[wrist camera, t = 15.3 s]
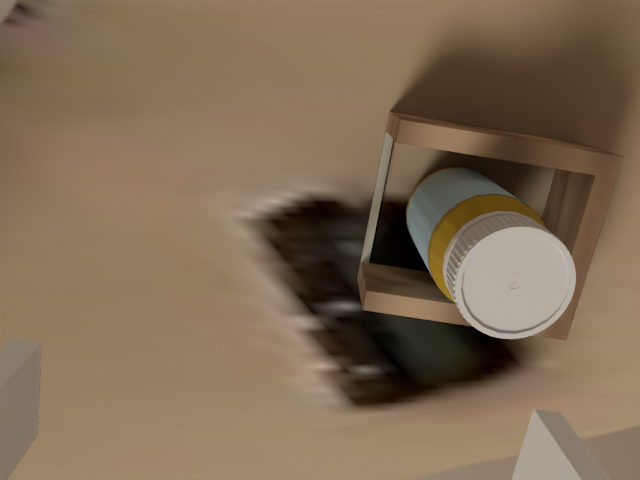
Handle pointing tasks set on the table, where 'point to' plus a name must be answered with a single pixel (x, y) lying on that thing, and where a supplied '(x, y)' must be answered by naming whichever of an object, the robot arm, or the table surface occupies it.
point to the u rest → (559, 217)
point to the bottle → (490, 253)
